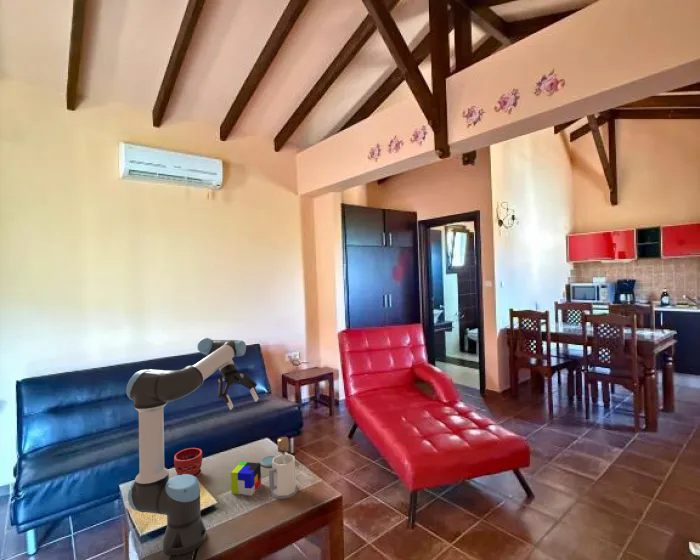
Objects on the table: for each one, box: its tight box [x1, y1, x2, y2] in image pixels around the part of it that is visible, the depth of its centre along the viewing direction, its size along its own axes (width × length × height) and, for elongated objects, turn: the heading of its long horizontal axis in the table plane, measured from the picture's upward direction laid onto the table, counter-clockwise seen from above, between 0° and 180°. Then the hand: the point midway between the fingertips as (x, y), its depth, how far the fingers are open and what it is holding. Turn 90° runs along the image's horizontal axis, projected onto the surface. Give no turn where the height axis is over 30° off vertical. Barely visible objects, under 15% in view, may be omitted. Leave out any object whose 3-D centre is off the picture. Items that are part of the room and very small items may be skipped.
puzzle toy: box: [230, 461, 262, 496], centre depth 178 cm, size 10×10×10 cm
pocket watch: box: [256, 452, 282, 468], centre depth 202 cm, size 10×11×15 cm
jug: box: [268, 453, 299, 500], centre depth 174 cm, size 14×12×15 cm
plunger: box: [277, 436, 290, 464], centre depth 174 cm, size 8×8×22 cm
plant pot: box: [173, 447, 203, 479], centre depth 190 cm, size 13×13×12 cm
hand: (244, 404), depth 179 cm, fingers open, 13 cm apart
